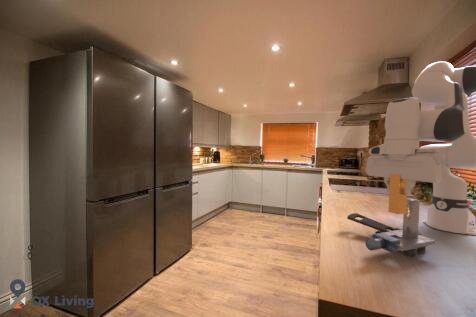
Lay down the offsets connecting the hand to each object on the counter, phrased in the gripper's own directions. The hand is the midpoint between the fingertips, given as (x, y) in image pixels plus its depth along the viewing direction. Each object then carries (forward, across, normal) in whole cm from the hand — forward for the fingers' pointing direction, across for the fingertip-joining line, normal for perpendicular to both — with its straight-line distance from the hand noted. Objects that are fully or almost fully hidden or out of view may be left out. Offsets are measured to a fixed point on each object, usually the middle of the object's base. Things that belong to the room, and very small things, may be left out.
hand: (398, 193), depth 68 cm
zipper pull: (+20, +11, -11) cm, 25 cm away
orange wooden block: (+6, 0, 0) cm, 6 cm away
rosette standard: (+20, 0, 0) cm, 20 cm away
